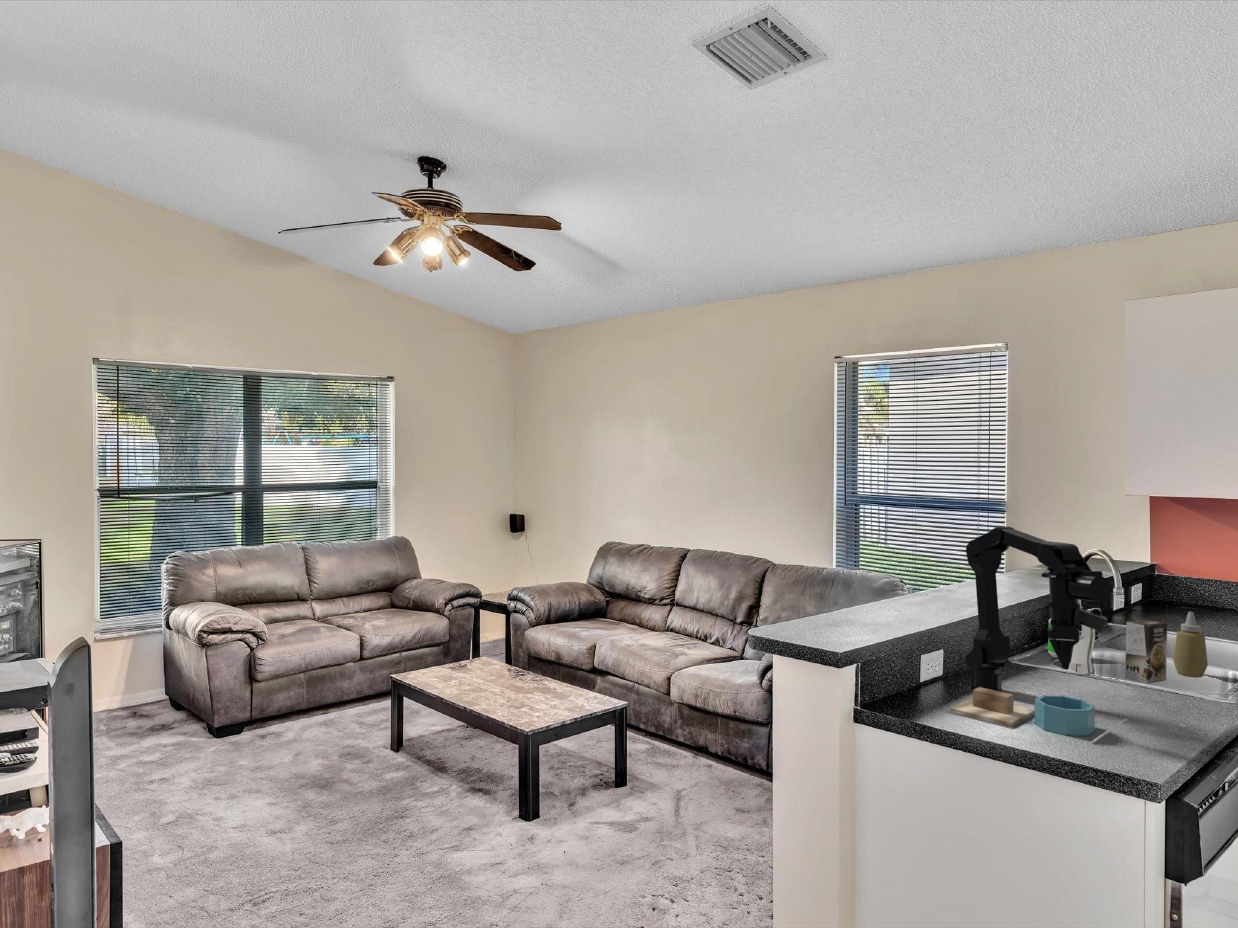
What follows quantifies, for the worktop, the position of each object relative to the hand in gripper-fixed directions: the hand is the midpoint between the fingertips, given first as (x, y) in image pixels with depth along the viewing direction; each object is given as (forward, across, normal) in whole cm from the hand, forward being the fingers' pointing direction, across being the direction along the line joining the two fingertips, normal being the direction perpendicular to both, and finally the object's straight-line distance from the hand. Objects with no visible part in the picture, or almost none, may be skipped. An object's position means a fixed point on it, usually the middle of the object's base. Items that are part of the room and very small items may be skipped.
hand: (1067, 665), depth 188 cm
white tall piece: (+10, +54, 0) cm, 55 cm away
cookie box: (+11, +54, -16) cm, 58 cm away
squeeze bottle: (+11, +67, -27) cm, 73 cm away
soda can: (+9, +71, +5) cm, 71 cm away
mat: (+12, -3, +16) cm, 20 cm away
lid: (+12, -3, +16) cm, 20 cm away
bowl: (+13, -5, +1) cm, 14 cm away
